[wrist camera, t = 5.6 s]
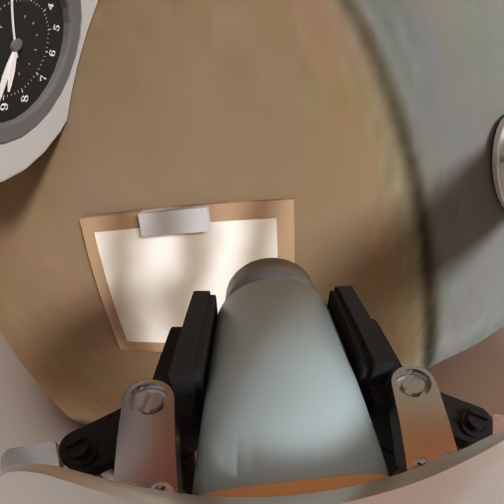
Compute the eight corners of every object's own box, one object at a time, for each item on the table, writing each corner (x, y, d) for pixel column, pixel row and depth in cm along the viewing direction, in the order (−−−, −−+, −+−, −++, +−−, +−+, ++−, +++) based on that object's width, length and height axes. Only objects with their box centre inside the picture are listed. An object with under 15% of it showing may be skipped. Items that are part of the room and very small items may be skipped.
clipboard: (292, 198, 24) (295, 202, 22) (292, 345, 30) (294, 355, 28) (82, 217, 24) (74, 222, 23) (122, 346, 30) (117, 354, 29)
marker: (323, 250, 11) (454, 524, 2) (315, 334, 12) (369, 557, 3) (215, 253, 11) (150, 565, 2) (223, 338, 12) (202, 571, 3)
